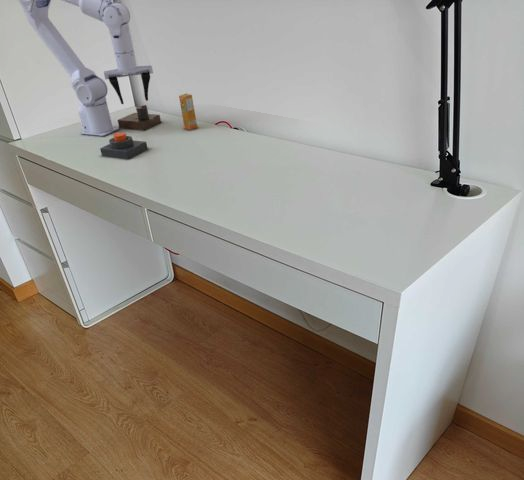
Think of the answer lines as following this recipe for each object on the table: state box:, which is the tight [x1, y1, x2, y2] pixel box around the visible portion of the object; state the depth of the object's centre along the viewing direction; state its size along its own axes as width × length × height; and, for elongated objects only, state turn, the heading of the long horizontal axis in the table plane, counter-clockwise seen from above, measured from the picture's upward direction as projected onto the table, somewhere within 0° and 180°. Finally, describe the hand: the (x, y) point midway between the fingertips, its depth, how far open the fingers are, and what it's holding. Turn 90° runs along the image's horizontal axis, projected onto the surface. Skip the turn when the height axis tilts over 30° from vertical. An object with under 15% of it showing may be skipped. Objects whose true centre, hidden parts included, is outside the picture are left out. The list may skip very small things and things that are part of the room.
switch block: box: [99, 135, 149, 160], centre depth 146 cm, size 10×9×4 cm
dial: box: [135, 104, 150, 120], centre depth 164 cm, size 4×4×4 cm
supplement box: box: [178, 92, 198, 131], centre depth 159 cm, size 3×3×10 cm
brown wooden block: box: [117, 112, 162, 131], centre depth 168 cm, size 12×9×3 cm
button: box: [112, 132, 127, 142], centre depth 144 cm, size 4×4×2 cm
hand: (134, 101), depth 157 cm, fingers open, 7 cm apart
